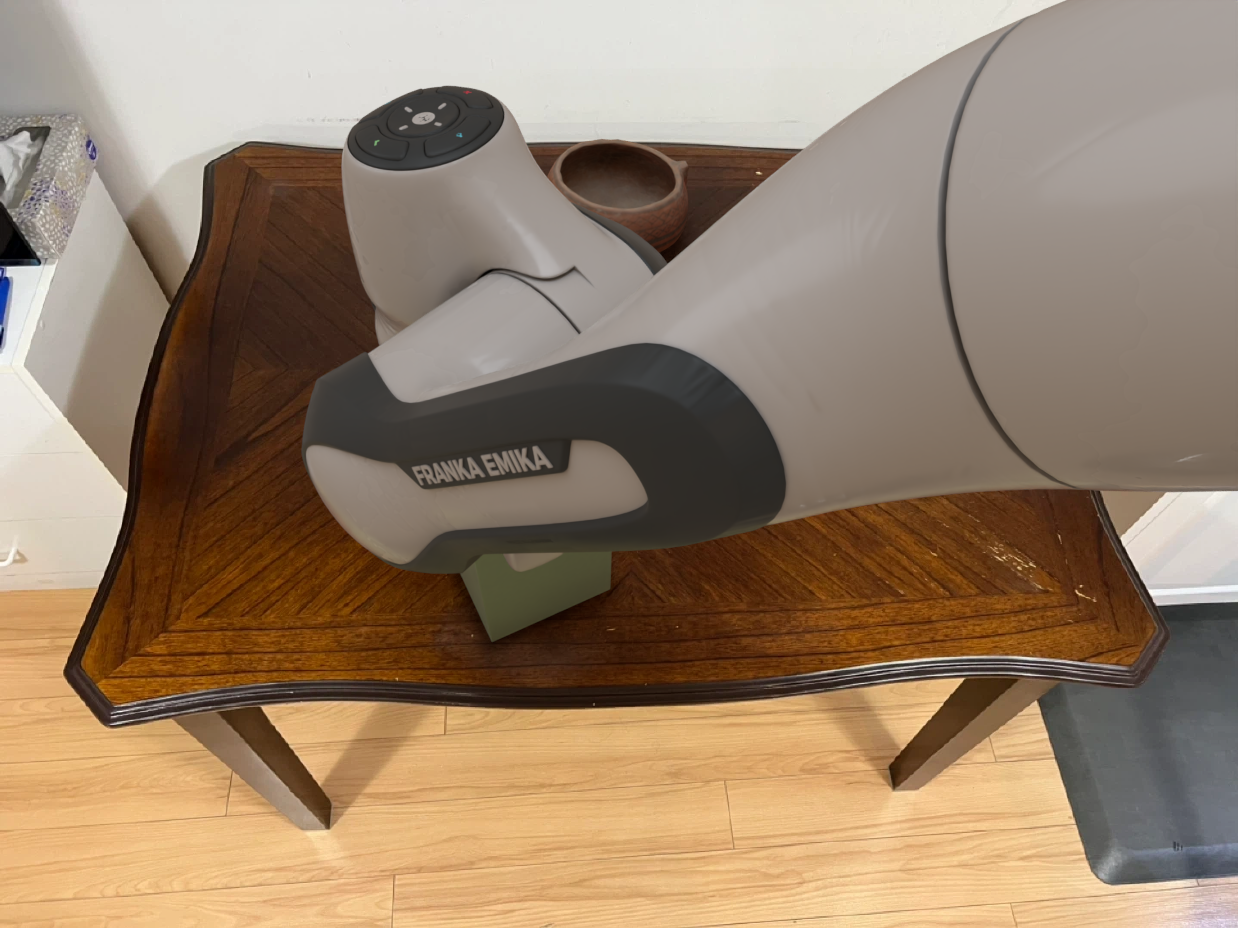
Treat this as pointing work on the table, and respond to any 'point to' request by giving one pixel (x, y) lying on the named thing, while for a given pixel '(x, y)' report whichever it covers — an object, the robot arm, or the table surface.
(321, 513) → the table surface
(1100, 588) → the table surface
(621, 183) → the bowl
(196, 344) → the table surface
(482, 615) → the toaster
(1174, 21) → the robot arm
